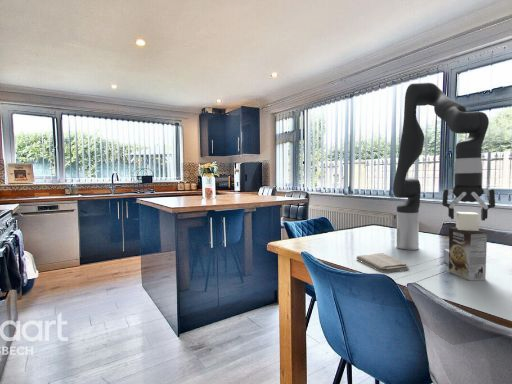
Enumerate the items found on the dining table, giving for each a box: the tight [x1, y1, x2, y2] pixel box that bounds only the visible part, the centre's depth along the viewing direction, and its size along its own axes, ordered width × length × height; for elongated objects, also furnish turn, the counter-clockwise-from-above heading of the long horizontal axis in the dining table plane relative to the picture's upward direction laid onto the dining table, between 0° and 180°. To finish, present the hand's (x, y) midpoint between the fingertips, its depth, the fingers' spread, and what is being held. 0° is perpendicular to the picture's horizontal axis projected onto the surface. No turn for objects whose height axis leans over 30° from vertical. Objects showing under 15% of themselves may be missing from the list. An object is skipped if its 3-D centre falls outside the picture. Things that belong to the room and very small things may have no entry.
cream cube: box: [455, 211, 480, 231], centre depth 97 cm, size 6×6×6 cm
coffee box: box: [448, 226, 488, 281], centre depth 97 cm, size 9×6×16 cm
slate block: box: [443, 248, 449, 265], centre depth 111 cm, size 5×5×5 cm
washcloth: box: [356, 252, 410, 273], centre depth 112 cm, size 12×18×3 cm, turn 13°
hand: (467, 219), depth 97 cm, fingers open, 8 cm apart
